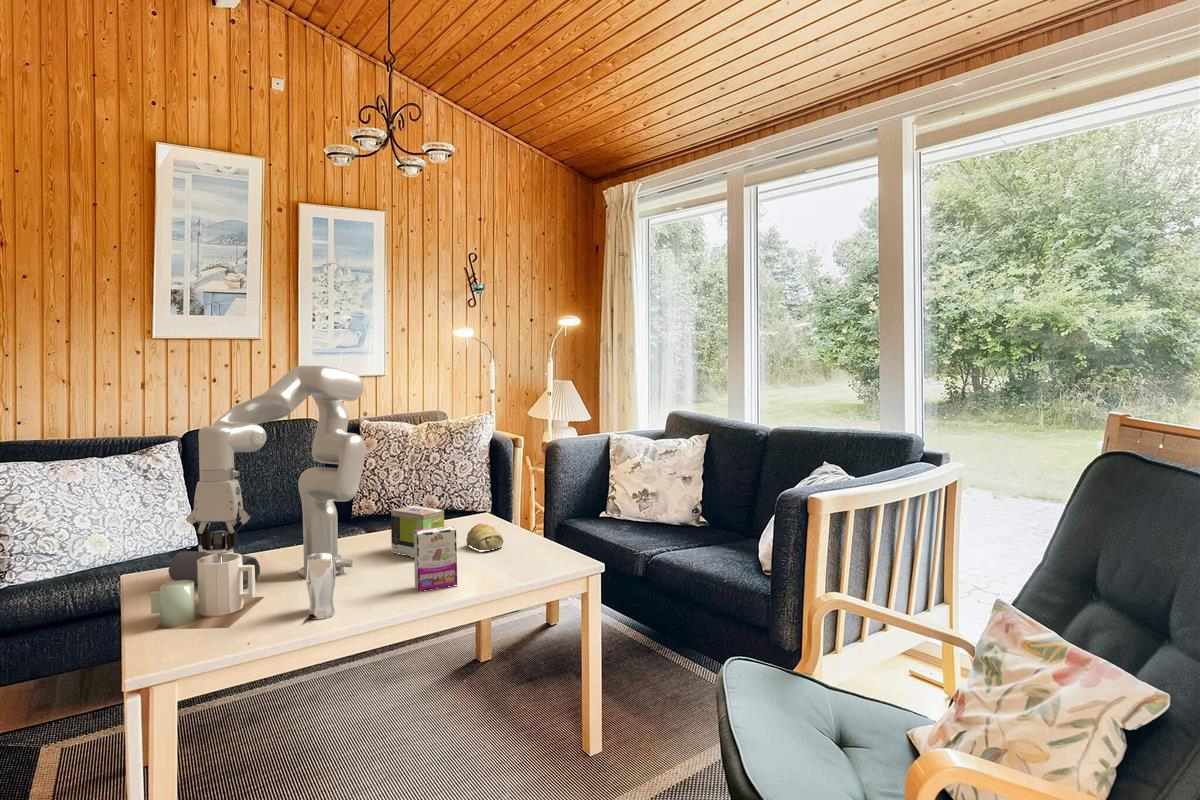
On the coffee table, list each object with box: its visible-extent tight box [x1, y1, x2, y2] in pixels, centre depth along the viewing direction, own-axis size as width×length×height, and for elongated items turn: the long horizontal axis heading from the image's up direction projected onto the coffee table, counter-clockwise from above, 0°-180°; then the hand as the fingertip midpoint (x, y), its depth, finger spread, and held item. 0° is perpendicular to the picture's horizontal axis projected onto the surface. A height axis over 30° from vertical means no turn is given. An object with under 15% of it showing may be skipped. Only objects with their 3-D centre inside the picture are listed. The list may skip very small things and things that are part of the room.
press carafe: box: [197, 552, 256, 617], centre depth 174 cm, size 13×10×13 cm
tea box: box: [390, 505, 445, 558], centre depth 228 cm, size 15×10×15 cm
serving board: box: [152, 596, 265, 630], centre depth 172 cm, size 17×21×1 cm
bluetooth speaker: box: [168, 550, 261, 589], centre depth 194 cm, size 23×9×10 cm, turn 77°
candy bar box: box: [413, 525, 458, 592], centre depth 195 cm, size 11×5×16 cm, turn 117°
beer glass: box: [305, 552, 337, 620], centre depth 174 cm, size 7×7×15 cm
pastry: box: [466, 523, 504, 550], centre depth 237 cm, size 14×12×8 cm
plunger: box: [206, 530, 234, 563], centre depth 173 cm, size 7×7×17 cm
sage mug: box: [150, 580, 196, 627], centre depth 166 cm, size 9×7×9 cm
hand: (219, 547), depth 173 cm, fingers closed on plunger, 5 cm apart
